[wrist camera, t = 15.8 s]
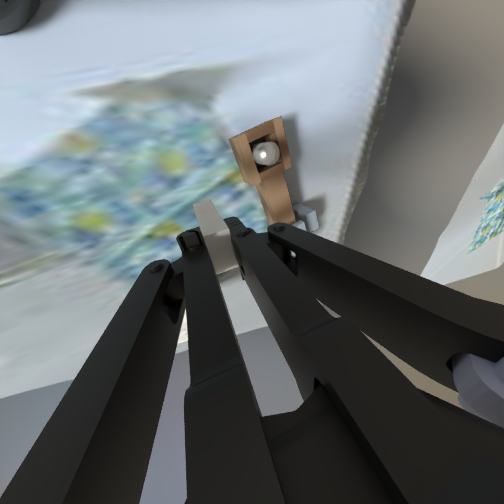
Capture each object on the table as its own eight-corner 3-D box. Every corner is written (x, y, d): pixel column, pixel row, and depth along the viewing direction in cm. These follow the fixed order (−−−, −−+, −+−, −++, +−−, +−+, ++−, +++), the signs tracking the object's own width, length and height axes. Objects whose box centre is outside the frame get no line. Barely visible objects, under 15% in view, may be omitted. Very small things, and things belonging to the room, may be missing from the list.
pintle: (241, 145, 30) (259, 143, 23) (257, 143, 31) (278, 140, 24) (244, 164, 31) (261, 167, 25) (259, 161, 32) (280, 163, 25)
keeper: (265, 219, 37) (284, 233, 31) (296, 200, 38) (322, 210, 31) (276, 246, 42) (295, 264, 35) (304, 229, 42) (329, 244, 35)
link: (228, 139, 29) (236, 136, 25) (266, 121, 30) (280, 116, 25) (266, 237, 40) (276, 247, 35) (293, 223, 40) (306, 230, 36)
